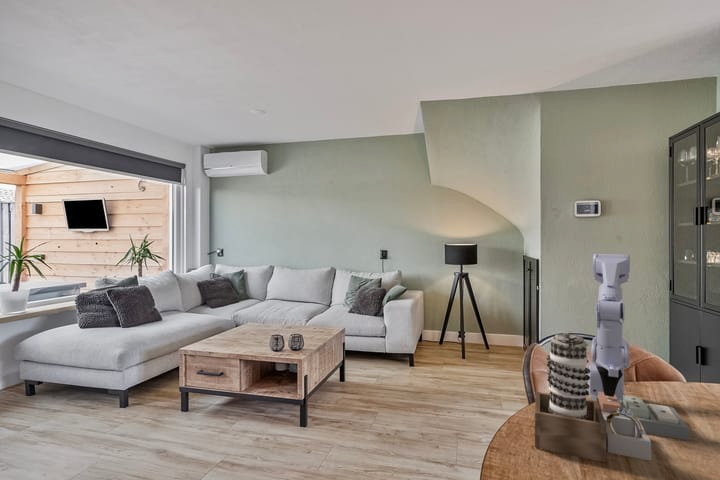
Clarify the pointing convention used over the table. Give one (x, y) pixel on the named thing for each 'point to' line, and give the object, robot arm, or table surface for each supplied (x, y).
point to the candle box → (570, 431)
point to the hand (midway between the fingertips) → (608, 395)
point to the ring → (627, 414)
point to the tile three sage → (636, 406)
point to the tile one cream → (663, 413)
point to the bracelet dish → (627, 439)
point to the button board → (659, 424)
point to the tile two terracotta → (608, 403)
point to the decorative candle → (568, 376)
